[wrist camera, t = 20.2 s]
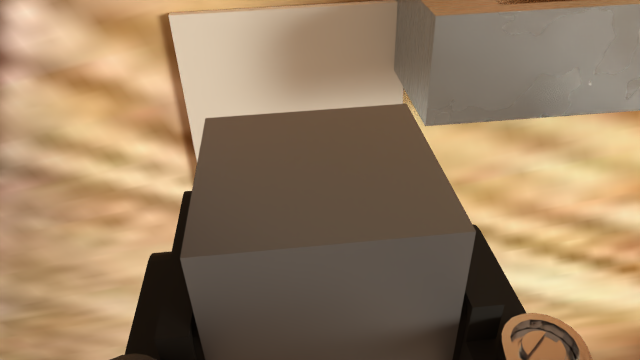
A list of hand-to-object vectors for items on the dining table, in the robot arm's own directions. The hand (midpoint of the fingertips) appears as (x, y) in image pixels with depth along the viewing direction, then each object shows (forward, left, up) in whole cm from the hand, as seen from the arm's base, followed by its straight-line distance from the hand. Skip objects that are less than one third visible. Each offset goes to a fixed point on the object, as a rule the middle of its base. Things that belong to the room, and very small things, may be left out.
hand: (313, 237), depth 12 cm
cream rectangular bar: (-7, 0, 0) cm, 7 cm away
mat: (-8, 0, -13) cm, 16 cm away
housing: (+1, -10, -13) cm, 17 cm away
